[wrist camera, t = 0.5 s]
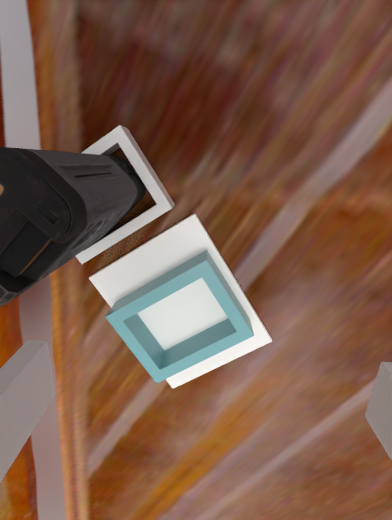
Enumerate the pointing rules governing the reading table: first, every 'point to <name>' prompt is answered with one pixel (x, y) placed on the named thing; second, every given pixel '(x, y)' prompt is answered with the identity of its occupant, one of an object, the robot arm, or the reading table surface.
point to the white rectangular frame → (148, 177)
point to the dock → (179, 305)
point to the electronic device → (57, 210)
